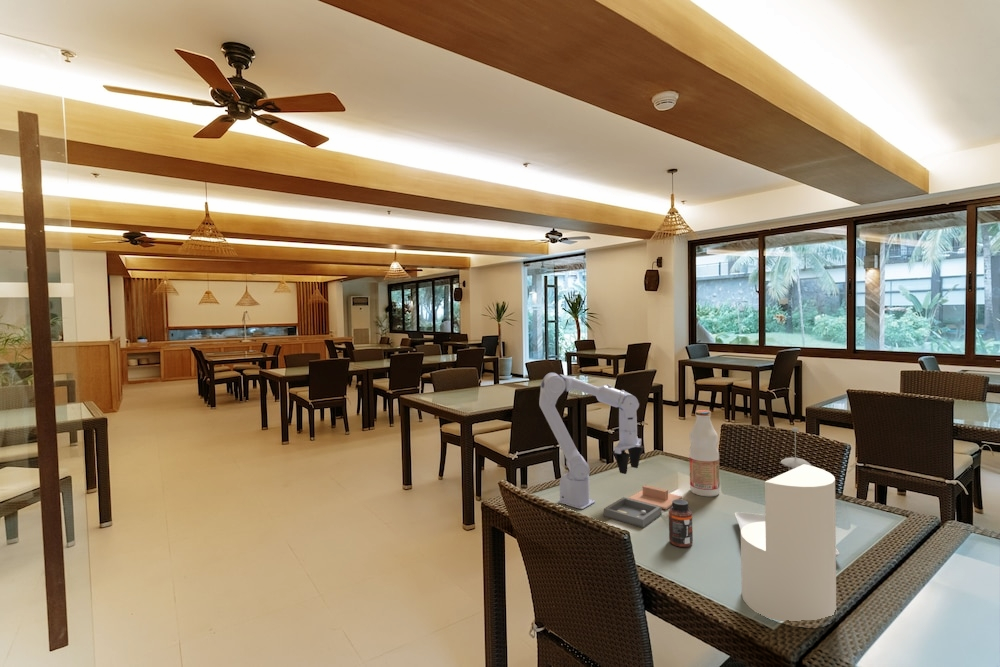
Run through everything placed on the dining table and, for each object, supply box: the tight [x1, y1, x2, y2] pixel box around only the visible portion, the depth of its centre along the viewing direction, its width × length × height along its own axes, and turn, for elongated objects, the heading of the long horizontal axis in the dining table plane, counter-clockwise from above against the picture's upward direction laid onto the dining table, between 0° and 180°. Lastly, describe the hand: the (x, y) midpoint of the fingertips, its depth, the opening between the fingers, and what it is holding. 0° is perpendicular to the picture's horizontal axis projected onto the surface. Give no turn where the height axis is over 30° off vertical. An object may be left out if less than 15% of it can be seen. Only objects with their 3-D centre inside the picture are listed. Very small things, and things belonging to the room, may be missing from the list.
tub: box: [603, 496, 662, 529], centre depth 150 cm, size 13×12×2 cm
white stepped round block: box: [740, 464, 837, 621], centre depth 103 cm, size 17×17×28 cm
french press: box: [780, 426, 812, 471], centre depth 153 cm, size 10×12×25 cm
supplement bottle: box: [668, 499, 694, 548], centre depth 131 cm, size 6×6×11 cm
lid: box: [628, 484, 683, 510], centre depth 161 cm, size 13×12×4 cm
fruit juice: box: [688, 409, 721, 497], centre depth 167 cm, size 9×9×28 cm
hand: (628, 470), depth 161 cm, fingers open, 7 cm apart
